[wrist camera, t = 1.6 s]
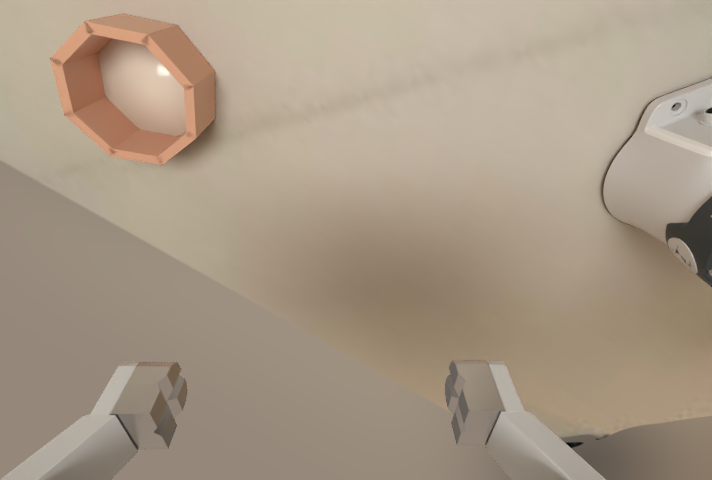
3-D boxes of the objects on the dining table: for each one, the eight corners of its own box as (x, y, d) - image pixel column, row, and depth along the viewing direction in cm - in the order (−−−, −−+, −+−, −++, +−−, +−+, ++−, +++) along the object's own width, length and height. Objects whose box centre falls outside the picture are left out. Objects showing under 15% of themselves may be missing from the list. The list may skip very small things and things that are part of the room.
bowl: (147, -11, 32) (111, -8, 27) (238, 99, 38) (222, 118, 33) (71, 66, 36) (27, 82, 31) (164, 157, 41) (139, 182, 36)
